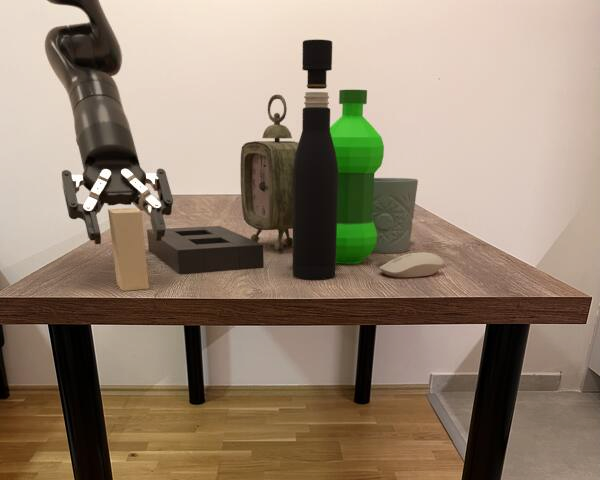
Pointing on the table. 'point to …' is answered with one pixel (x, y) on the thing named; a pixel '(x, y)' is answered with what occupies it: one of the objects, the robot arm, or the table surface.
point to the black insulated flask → (315, 174)
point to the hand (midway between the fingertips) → (129, 238)
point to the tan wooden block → (128, 248)
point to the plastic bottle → (355, 178)
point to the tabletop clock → (269, 180)
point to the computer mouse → (413, 265)
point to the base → (206, 249)
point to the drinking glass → (393, 213)
